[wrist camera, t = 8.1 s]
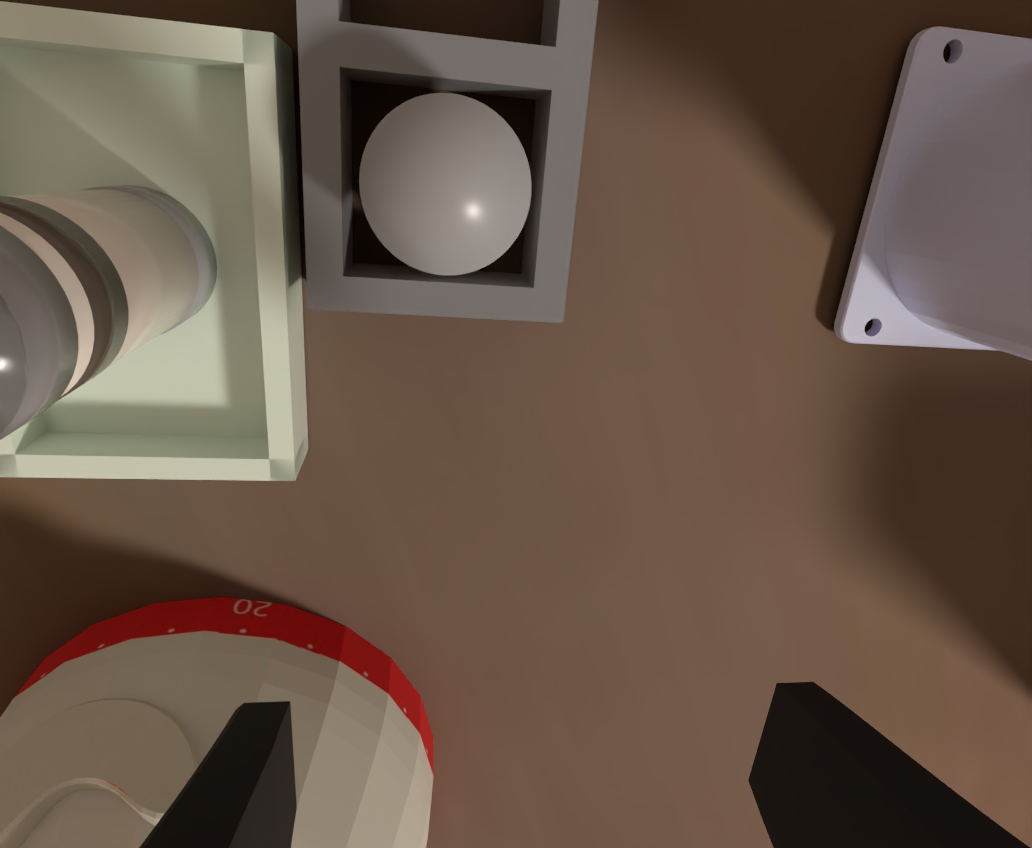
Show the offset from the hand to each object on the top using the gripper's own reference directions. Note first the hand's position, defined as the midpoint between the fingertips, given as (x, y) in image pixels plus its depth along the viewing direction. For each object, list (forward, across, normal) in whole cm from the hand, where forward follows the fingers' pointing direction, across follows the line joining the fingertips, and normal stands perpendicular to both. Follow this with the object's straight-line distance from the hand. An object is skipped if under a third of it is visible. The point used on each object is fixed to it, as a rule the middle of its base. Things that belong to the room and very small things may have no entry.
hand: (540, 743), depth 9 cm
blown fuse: (+10, +8, -5) cm, 14 cm away
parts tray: (+10, +8, -5) cm, 14 cm away
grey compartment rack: (+10, +2, -10) cm, 15 cm away
